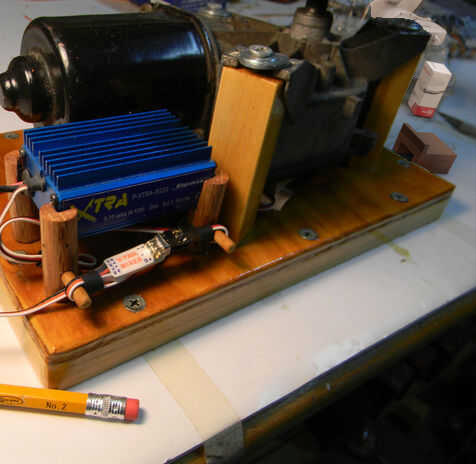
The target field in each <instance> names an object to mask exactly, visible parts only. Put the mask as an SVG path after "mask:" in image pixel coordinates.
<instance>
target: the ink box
mask: <svg viewBox="0 0 476 464" xmlns="http://www.w3.org/2000/svg"><path fill="white" fill-rule="evenodd" d="M452 76H453V74H452V73H451V71H450V70H449V69H448V67H446V65H445V64H444V63H439V62H435V61H434V62H433V61H429V60H426V61H425V62H424V64H423V67H422V68H421V71H420V74H419V76H418V79H417V80H416V83H415V86H414V87H413V89H412V92H411V94H410V97H409V99H408V102H407V105H408V107H409V108H410V111H411V112H412V114H413V116H419V117H423V118H430V119H432V118H433V116H434V115H435V112H436V110H437V108H438V106H439V103H440V102H441V99H442V97H443V95H444V93H445V91H446V88H447V87H448V85H449V82H450V80H451V78H452Z"/></svg>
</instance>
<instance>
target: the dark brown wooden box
mask: <svg viewBox="0 0 476 464" xmlns="http://www.w3.org/2000/svg"><path fill="white" fill-rule="evenodd" d="M392 151H393V152H394V153H395V154H407V155H413V157H412V158H411V160H410V162H413V163H415V164H417V165H419V166H421V167H423V168H425V169H427V170H428V171H430V172H432V173H431V174H447V175H448V174H449V172H450V171H451V168H452V167H453V165H454V162H455V161H456V159H457V157H458V154H457V153H456V152H455V151H453V149H451V147H449V146H448V144H446V143H445V142H444V141H443V140H442V139H440V137H439V136H438V135H436V134H435V133H434V132H425V131H417V130H416V129H415V128H414V127H413V126H412V125H410V123H408V122H403V123H402V126H401V128H400V130H399V132H398V134H397V136H396V140H395V141H394V144H393V146H392Z"/></svg>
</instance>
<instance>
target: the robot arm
mask: <svg viewBox="0 0 476 464" xmlns="http://www.w3.org/2000/svg"><path fill="white" fill-rule="evenodd" d="M426 1H427V0H372V1H371V2H370V3H369V4H370V6H371V17H373V18H376V17H382V18H405V19H410V20H414V21H415V22H417V23H419V24H420V25H421V26H422V27H423V29H424V30H426V31H427V32H429V33H430V34H431V35H432V37H431V40H430V42H429V43H428V44H427V45H430V46H432V47H439V46H441V45H442V44H443V43H444V40H445V38H446V37H447V30H446V29H445V28H443V27H442V26H441V25H439V24H438V23H435V22H433V21H432V18H431V17H429V16H426V15H420V14H416V13H417V12H418V11H419V10H420V9H421V8H422V7H423V5H424V4H425V2H426Z"/></svg>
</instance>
